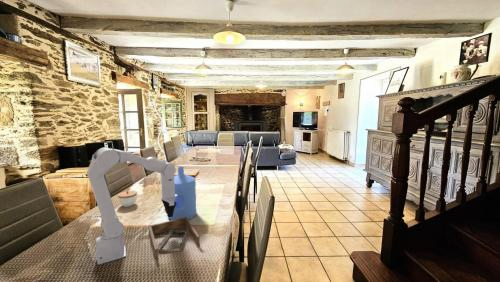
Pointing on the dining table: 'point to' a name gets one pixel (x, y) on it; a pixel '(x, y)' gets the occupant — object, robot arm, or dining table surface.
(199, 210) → the dining table surface
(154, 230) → the walnut u-shaped frame
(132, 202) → the lidded jar
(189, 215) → the water jug
